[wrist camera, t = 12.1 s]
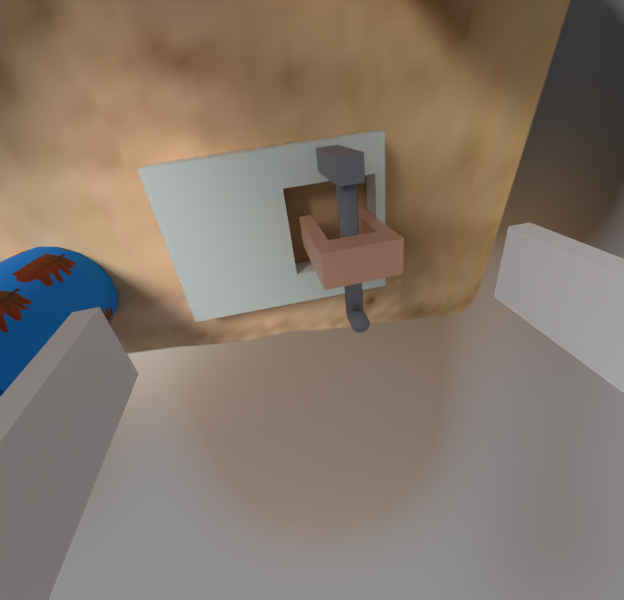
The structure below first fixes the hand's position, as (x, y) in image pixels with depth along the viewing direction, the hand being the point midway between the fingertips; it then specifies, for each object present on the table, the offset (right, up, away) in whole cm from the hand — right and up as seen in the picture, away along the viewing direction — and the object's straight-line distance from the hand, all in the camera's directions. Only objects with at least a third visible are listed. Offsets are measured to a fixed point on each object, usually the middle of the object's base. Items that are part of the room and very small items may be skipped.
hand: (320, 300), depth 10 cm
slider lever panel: (-4, +8, +24) cm, 26 cm away
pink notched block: (+2, +8, +22) cm, 24 cm away
